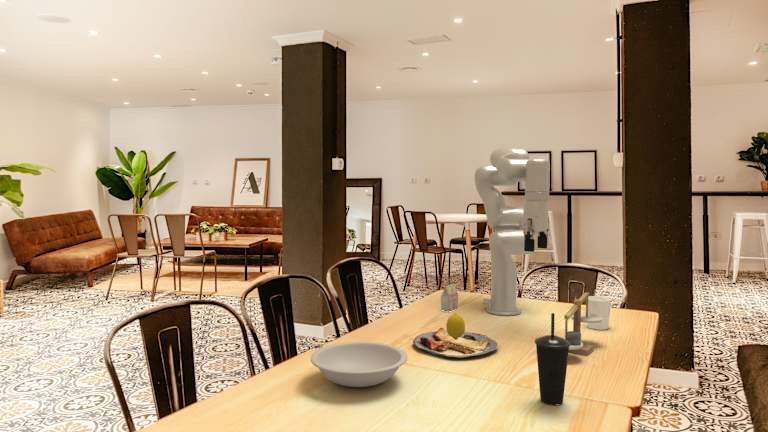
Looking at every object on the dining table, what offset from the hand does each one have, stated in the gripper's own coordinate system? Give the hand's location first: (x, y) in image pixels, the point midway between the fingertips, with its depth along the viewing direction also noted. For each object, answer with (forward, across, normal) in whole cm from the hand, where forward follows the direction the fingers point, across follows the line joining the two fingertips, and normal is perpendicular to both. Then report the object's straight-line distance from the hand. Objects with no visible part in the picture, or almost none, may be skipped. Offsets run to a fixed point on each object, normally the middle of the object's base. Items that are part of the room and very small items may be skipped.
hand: (535, 249), depth 172 cm
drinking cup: (+27, +50, +27) cm, 62 cm away
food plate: (+28, +30, -12) cm, 43 cm away
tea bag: (+28, -8, -39) cm, 49 cm away
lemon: (+26, +29, -12) cm, 41 cm away
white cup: (+28, -20, +14) cm, 37 cm away
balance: (+27, +10, +18) cm, 34 cm away
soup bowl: (+27, +69, -14) cm, 75 cm away
